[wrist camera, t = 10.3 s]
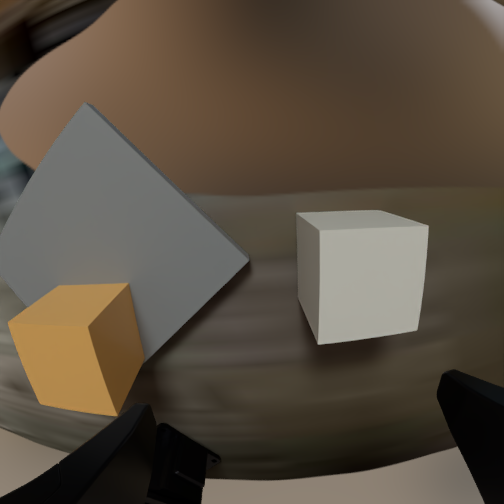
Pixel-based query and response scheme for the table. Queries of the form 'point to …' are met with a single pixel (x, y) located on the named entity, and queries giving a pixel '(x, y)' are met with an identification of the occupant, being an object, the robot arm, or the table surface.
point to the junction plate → (115, 231)
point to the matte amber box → (80, 347)
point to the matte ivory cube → (360, 273)
